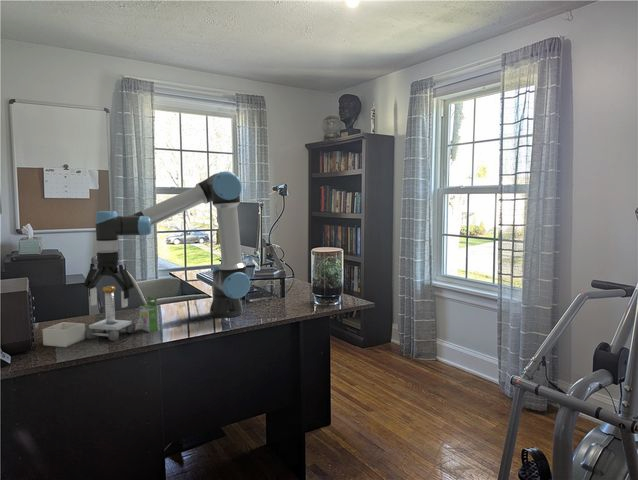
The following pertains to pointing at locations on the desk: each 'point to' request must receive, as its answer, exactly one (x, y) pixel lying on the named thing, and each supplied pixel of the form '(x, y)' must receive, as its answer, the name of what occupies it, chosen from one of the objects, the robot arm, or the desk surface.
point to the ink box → (149, 316)
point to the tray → (63, 334)
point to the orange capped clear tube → (109, 306)
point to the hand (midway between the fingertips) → (109, 306)
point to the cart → (113, 333)
